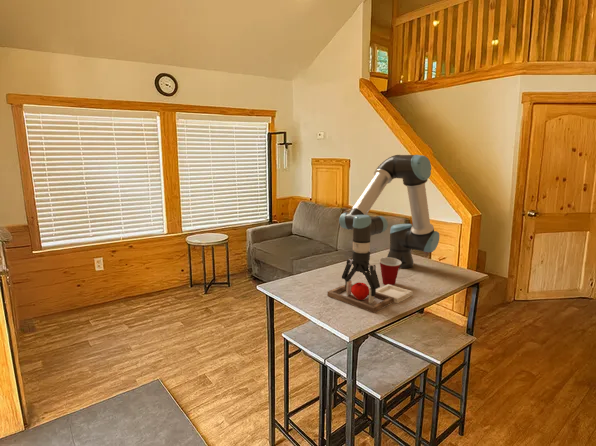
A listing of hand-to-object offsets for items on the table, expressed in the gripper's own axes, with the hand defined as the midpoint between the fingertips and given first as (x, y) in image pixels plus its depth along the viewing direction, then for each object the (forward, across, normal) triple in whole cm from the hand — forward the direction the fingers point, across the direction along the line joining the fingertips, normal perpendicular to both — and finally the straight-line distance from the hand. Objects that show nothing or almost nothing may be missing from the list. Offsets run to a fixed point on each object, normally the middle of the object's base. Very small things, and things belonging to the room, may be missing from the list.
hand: (359, 298), depth 165 cm
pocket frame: (0, 0, 0) cm, 0 cm away
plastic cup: (0, -1, +25) cm, 25 cm away
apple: (0, 0, 0) cm, 0 cm away
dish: (0, +8, +14) cm, 16 cm away
